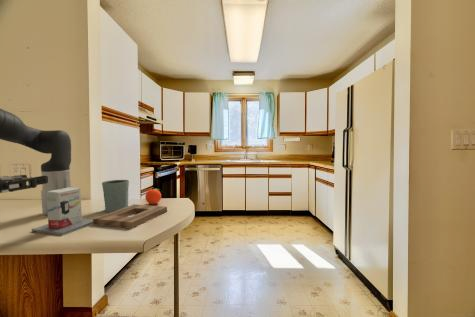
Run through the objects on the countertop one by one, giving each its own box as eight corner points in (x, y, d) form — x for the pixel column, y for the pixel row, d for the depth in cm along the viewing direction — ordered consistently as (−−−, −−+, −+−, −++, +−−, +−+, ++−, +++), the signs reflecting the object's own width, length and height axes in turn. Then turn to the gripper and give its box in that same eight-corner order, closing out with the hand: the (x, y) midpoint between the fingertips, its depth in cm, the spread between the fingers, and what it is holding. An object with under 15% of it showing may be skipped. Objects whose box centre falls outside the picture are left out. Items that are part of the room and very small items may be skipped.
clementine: (161, 201, 116) (160, 186, 116) (165, 203, 110) (165, 188, 110) (143, 203, 112) (143, 188, 111) (147, 206, 106) (147, 190, 105)
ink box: (59, 229, 77) (57, 192, 76) (47, 228, 78) (45, 191, 77) (82, 220, 85) (81, 187, 84) (71, 219, 86) (69, 187, 85)
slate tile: (31, 231, 77) (31, 229, 77) (70, 219, 90) (70, 217, 90) (62, 235, 73) (61, 232, 73) (98, 221, 86) (98, 219, 86)
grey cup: (104, 214, 96) (102, 184, 95) (102, 208, 104) (100, 180, 103) (132, 210, 101) (130, 181, 100) (127, 205, 110) (126, 178, 109)
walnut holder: (93, 224, 83) (92, 218, 83) (134, 209, 102) (133, 204, 102) (131, 228, 79) (131, 222, 78) (167, 211, 98) (166, 206, 98)
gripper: (-22, 175, 53) (53, 166, 68) (-62, 173, 57) (18, 165, 72) (-19, 208, 54) (55, 192, 69) (-58, 204, 58) (20, 190, 73)
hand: (36, 178), depth 71 cm, fingers open, 8 cm apart
